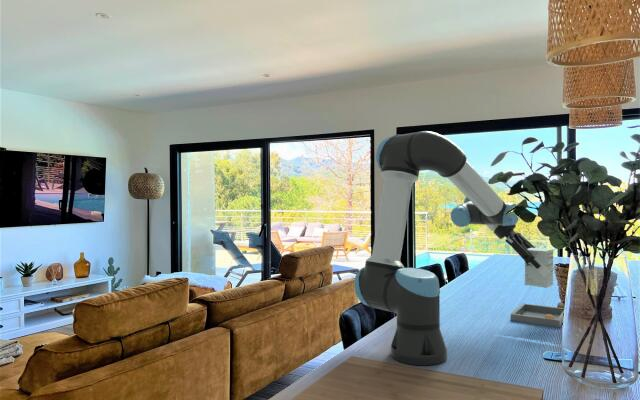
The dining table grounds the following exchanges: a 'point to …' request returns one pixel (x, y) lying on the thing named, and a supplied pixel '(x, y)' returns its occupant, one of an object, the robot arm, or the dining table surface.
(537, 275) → the supplement box
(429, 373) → the dining table surface
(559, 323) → the tray
